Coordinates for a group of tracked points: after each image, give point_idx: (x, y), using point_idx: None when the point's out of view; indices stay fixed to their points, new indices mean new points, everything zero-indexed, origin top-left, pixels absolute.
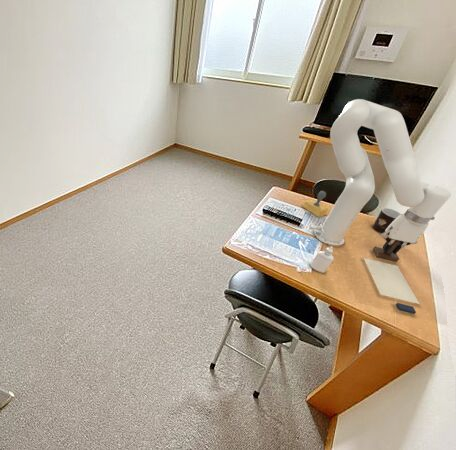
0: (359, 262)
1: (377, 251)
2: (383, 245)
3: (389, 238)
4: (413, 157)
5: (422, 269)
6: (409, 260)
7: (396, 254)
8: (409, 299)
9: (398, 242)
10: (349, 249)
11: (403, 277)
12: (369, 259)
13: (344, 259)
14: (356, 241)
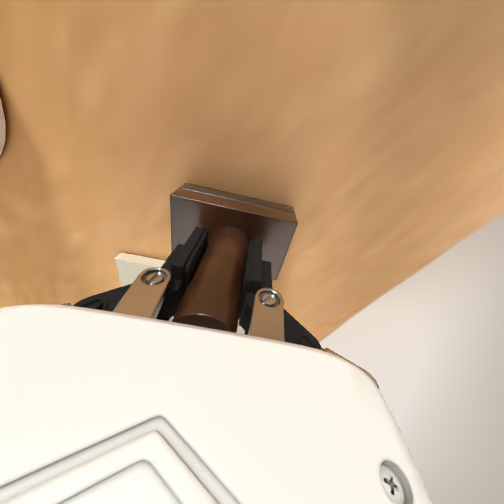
0: (106, 267)
1: (171, 239)
2: (175, 248)
3: (140, 304)
4: None
5: (387, 275)
6: (382, 225)
7: (283, 251)
8: None
9: None
10: (58, 183)
11: (243, 329)
12: (141, 263)
13: (42, 259)
14: (106, 64)
